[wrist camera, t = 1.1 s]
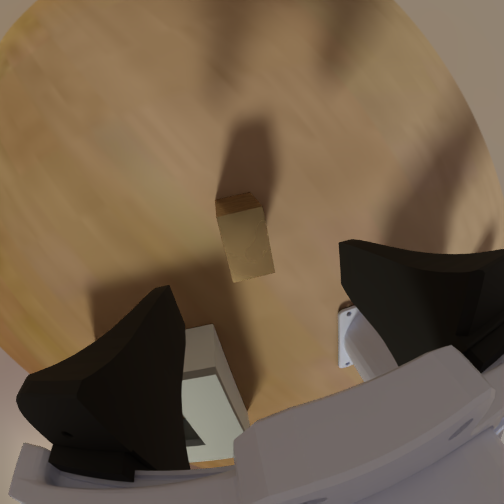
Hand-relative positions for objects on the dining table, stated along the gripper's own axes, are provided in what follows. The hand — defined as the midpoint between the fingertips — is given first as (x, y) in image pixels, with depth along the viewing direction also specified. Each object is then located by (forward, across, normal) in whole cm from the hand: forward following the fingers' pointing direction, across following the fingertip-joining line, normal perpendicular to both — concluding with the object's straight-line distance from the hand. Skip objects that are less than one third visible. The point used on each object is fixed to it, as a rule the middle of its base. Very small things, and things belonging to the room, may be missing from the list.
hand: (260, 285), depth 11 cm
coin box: (+9, +10, +15) cm, 20 cm away
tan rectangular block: (+10, 0, 0) cm, 10 cm away
